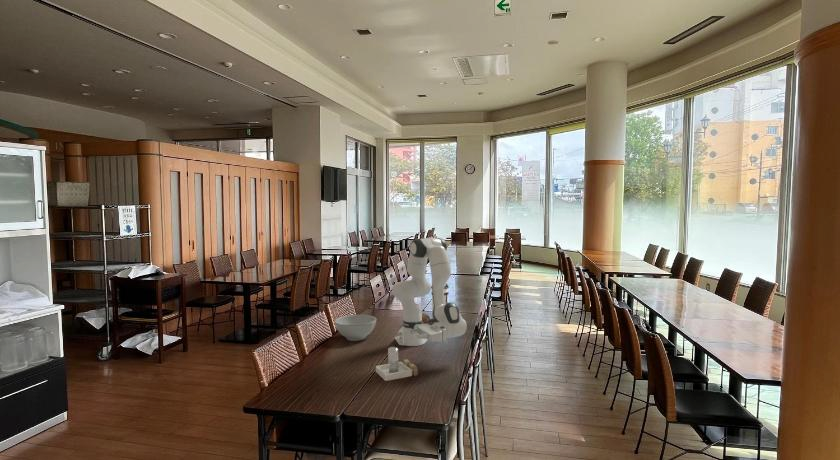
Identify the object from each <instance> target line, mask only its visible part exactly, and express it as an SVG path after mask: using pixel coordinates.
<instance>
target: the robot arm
mask: <svg viewBox="0 0 840 460" xmlns="http://www.w3.org/2000/svg"><path fill="white" fill-rule="evenodd" d="M409 250H410V253H409V256H408V261H407V266H406V271H407V274H408V275H409V276H411V279H408V280H402V281H399V282H396V283H394V284H393V286H392V294H393V297H394V298H396V300H398V301H399V302H400V304H401V306H402V310H403V312H402V313H403V320H402V327H400V328H399V330H398V331H397V333H396V334H397V336H395V341H396V342H397V344H398V345H399V346H407V347H417V346H423V345H424V344H426V342H428V341H429V342H432V343H434V342H436V343H437V342H447V338H455V337H456V338H457V337H460V336H463V335H464V334H465V333H466V332H467V328H468V327H467V326H468V325H467V321H466V320H465V319H464V318H463V317H462V315H461V312H460V308H459V307H458V305H457V304H456V303H455V302H452V301H450V302H448V303H447V304H445V300H444V286H445V284H447V282H448V281H449V279H450V277H451V276H452V268H451V267H452V266H451V263H450V259H449V255H448V253H447V250H448V244H447V242H446V240H445V239H444V238H441V237H426V238H416V239H414V240H411V243H410V245H409ZM428 261H429V268H430V274H431V275H430V276H431V282H430V281H429V279H427V278H426V269H427V263H428ZM431 286H432V289H431ZM430 292H432V293H433V303H434V308H433V313H431V314H432V315H433V319H432V320H433V323H432V325H431V324H423V320H422V314H423V313H422V310H423V309H422V307H421V305H420V304H418V303H416V302H415V298H420V297H424V296H427V295H429V294H431V293H430ZM434 321H435V322H434Z"/></svg>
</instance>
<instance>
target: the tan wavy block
mask: <svg viewBox="0 0 840 460" xmlns="http://www.w3.org/2000/svg"><path fill="white" fill-rule="evenodd" d="M402 363H403V364H405V365H406V366H407V367H409V368H410V369H411V370H412V376H418V372H419V371H418V367H417V365H415V364H414V363H413V362H411V361H410V360H409V359H407V358H403V359H402Z"/></svg>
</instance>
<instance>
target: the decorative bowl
mask: <svg viewBox="0 0 840 460" xmlns="http://www.w3.org/2000/svg"><path fill="white" fill-rule="evenodd" d="M376 324H377V317H375V316H373V315H371V314H370V315H369V314H351V315H345V316H344V315H343V316H341V317H338V318H336V319H334V326H335V329H337V331H338V332H339V334H340V335H341V336H343V337H344V338H346V340H348V341H349V342H350V341H351V342H358V341H363V340H365V339H366V338H367V336H368V335H370V334H371V333H372V331H373V330H374V329H375V326H376Z"/></svg>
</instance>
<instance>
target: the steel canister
mask: <svg viewBox="0 0 840 460" xmlns="http://www.w3.org/2000/svg"><path fill="white" fill-rule="evenodd" d="M387 359H388V363H387V364H389V373H395V372H399V365H398V362H399V347H397V346H390V347H388V348H387Z"/></svg>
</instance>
